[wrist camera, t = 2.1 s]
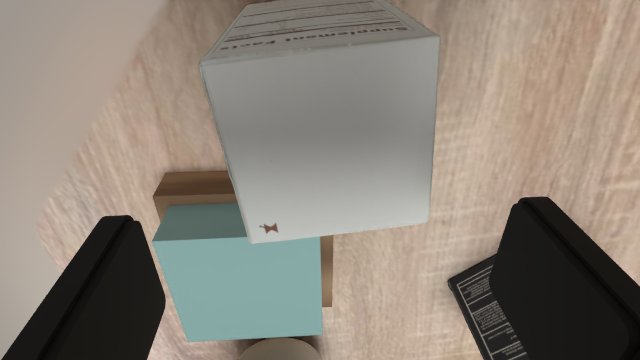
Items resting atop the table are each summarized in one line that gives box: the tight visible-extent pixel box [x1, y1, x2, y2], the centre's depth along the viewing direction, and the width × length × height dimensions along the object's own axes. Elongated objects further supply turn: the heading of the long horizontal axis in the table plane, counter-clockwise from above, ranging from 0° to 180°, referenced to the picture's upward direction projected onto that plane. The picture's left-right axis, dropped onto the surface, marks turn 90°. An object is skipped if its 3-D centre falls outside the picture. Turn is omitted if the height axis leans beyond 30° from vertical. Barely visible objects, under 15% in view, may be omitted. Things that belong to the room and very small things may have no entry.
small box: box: [448, 255, 530, 360], centre depth 30 cm, size 11×6×10 cm, turn 129°
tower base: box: [153, 171, 333, 307], centre depth 30 cm, size 12×12×4 cm
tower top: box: [152, 203, 323, 342], centre depth 27 cm, size 10×10×4 cm
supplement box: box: [199, 0, 440, 244], centre depth 18 cm, size 7×7×13 cm
